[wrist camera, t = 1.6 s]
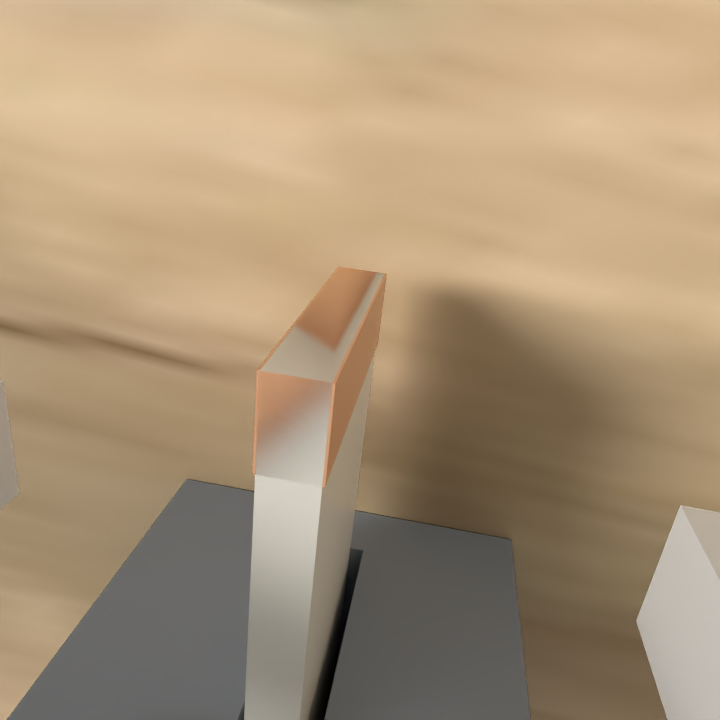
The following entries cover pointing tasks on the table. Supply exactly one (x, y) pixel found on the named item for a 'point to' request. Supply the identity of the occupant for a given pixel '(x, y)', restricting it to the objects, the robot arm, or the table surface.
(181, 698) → the block
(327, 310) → the slim white post
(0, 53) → the table surface
